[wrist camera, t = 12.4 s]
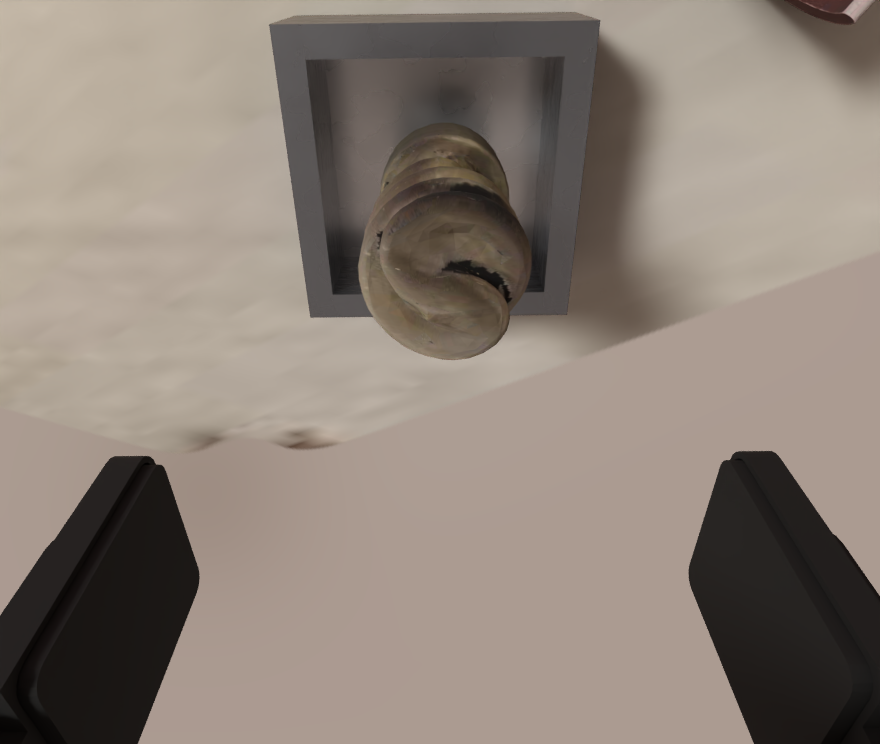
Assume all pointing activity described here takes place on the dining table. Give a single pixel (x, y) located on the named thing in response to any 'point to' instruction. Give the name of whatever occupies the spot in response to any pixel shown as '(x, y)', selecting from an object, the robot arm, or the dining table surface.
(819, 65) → the dining table surface
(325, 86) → the frame
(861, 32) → the dining table surface
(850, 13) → the dark brown lumpy piece
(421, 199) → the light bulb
